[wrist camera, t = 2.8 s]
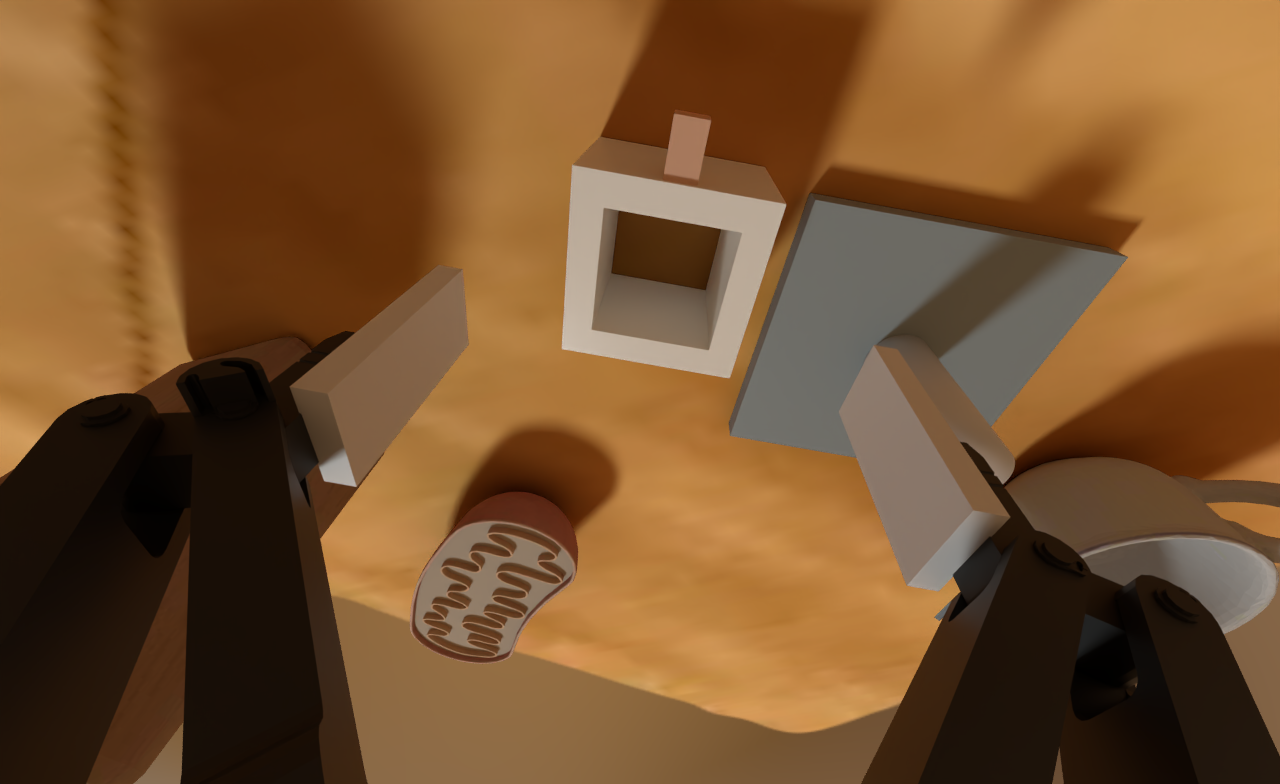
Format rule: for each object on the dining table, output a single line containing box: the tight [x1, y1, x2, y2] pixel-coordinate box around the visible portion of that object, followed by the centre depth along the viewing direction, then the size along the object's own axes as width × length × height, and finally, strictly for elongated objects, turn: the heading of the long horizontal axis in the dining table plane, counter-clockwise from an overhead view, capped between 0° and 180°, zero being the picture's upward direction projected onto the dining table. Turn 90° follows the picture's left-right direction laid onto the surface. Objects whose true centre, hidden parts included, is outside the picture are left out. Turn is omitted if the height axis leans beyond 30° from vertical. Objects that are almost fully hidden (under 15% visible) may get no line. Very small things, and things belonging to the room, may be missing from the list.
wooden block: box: [0, 337, 385, 784], centre depth 24 cm, size 10×10×20 cm
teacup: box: [1004, 457, 1280, 634], centre depth 27 cm, size 14×11×8 cm
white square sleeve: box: [562, 109, 787, 378], centre depth 20 cm, size 9×7×6 cm
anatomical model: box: [410, 492, 578, 664], centre depth 39 cm, size 23×10×5 cm, turn 152°
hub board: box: [729, 193, 1128, 484], centre depth 22 cm, size 14×14×9 cm
